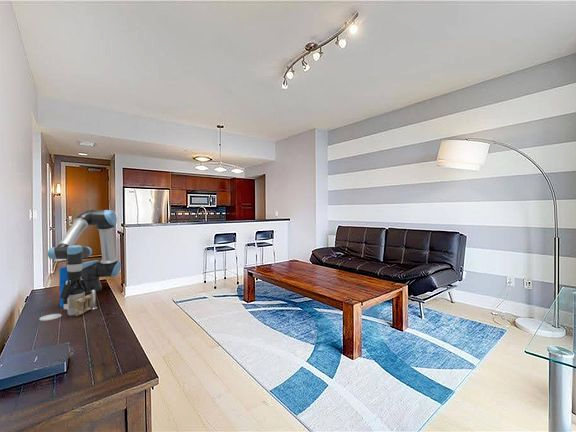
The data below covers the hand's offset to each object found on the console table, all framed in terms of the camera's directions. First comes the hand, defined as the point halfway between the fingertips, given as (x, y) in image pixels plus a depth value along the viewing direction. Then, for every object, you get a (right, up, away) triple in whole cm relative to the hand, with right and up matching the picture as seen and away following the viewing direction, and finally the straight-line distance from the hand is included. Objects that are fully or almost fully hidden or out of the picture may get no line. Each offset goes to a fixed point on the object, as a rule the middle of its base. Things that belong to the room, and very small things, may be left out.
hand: (74, 305), depth 175 cm
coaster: (-9, -5, -7) cm, 12 cm away
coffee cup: (0, -5, 0) cm, 5 cm away
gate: (+6, -4, 0) cm, 7 cm away
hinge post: (+6, -5, +9) cm, 11 cm away
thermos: (-15, -5, +16) cm, 22 cm away
